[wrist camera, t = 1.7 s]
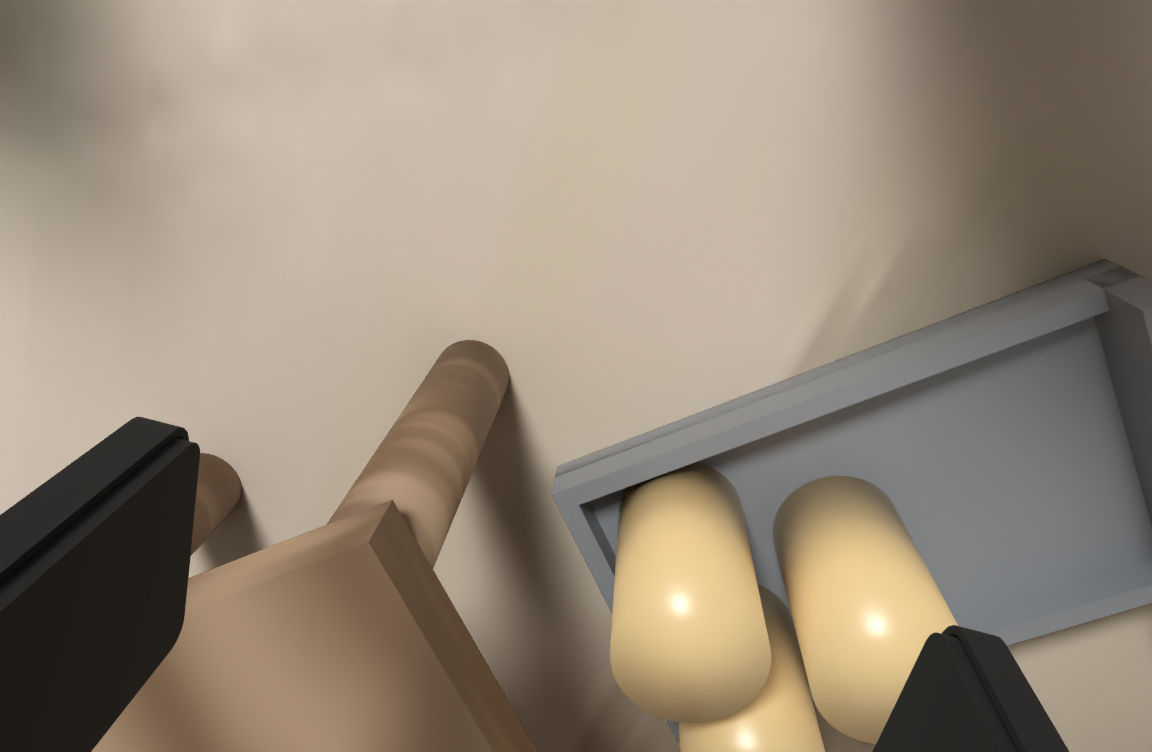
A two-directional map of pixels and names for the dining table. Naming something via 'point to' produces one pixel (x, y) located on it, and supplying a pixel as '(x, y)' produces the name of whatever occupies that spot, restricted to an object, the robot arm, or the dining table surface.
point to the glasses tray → (939, 456)
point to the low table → (341, 608)
